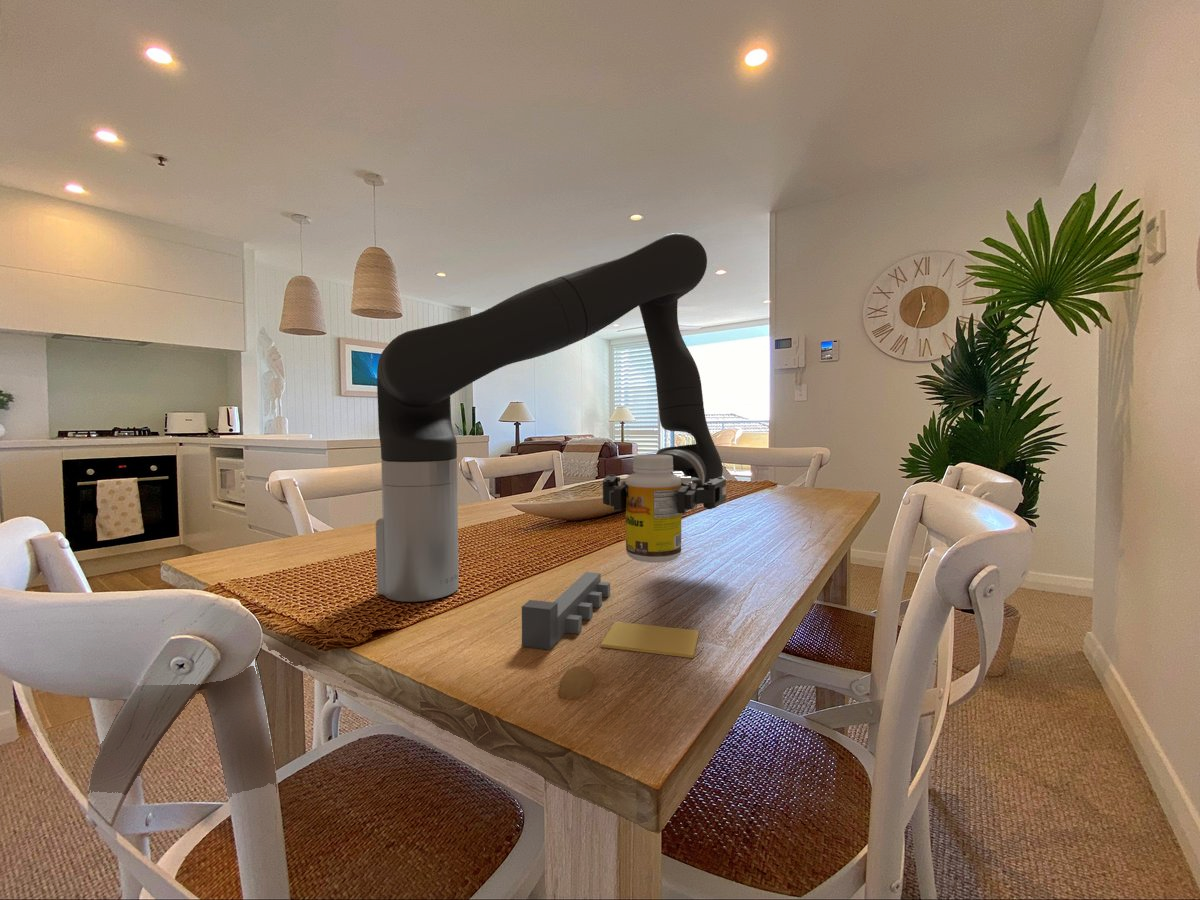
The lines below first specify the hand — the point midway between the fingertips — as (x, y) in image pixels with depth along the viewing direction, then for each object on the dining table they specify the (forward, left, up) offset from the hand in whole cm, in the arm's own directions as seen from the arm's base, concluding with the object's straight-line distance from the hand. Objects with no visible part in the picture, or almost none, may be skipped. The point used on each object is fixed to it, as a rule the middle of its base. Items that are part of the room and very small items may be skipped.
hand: (649, 501), depth 50 cm
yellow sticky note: (0, +2, -14) cm, 15 cm away
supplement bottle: (0, +3, -6) cm, 7 cm away
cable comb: (-10, +6, -14) cm, 19 cm away
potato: (-5, -9, -15) cm, 18 cm away
